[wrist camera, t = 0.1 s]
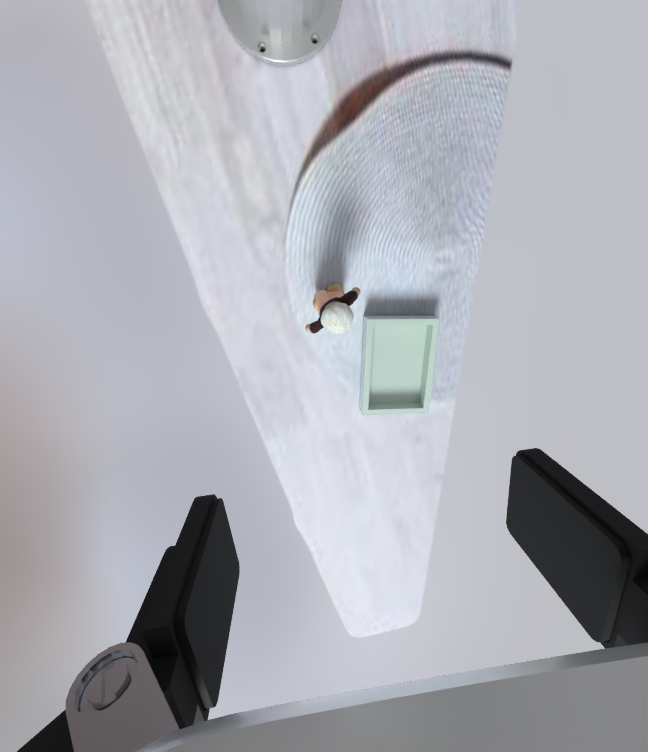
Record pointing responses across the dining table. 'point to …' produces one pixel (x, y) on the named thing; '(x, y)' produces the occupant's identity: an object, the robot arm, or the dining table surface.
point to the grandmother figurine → (333, 309)
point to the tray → (397, 364)
